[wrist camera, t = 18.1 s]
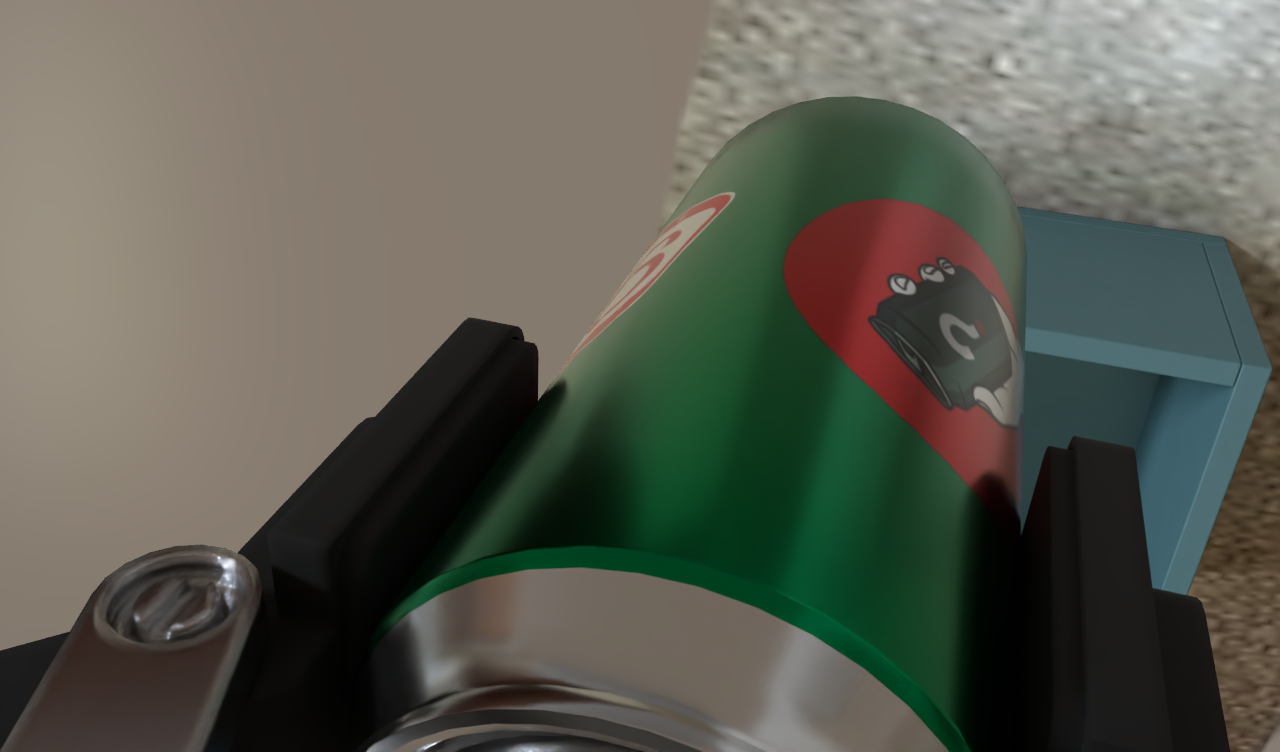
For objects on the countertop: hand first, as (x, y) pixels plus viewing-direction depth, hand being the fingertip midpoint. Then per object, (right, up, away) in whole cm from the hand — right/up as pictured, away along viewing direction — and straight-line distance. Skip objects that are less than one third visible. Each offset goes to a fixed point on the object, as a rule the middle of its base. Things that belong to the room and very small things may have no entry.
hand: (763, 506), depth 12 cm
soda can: (+2, +3, +6) cm, 7 cm away
